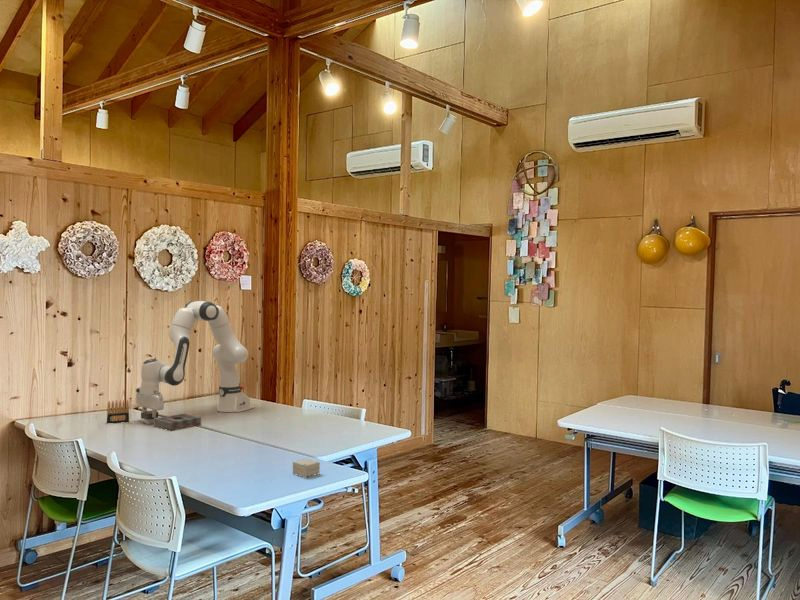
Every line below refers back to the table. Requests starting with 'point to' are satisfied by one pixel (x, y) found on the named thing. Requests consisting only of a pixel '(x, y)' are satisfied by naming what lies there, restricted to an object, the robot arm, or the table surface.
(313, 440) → the table surface
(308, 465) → the small box
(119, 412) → the ammunition clip
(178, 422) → the socket board
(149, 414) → the plug
